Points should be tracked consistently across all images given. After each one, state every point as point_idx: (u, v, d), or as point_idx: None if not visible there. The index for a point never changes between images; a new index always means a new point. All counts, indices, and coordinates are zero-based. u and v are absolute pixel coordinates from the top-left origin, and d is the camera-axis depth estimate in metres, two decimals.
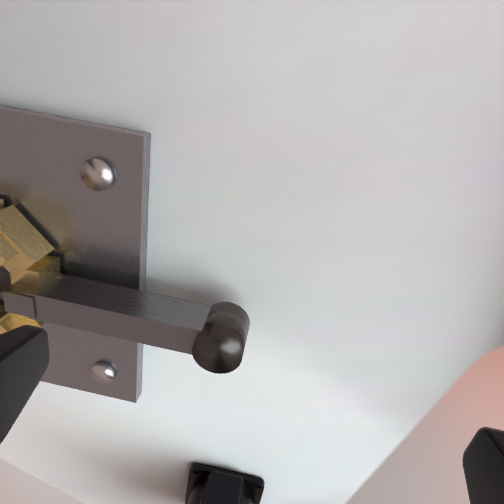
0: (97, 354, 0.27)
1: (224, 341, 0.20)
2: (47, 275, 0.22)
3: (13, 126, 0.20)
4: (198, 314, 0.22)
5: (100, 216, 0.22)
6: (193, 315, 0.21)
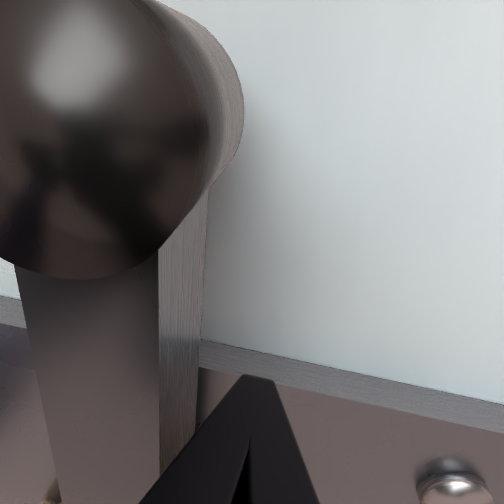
0: (390, 489, 0.10)
1: None
2: None
3: None
4: None
5: (16, 392, 0.11)
6: None
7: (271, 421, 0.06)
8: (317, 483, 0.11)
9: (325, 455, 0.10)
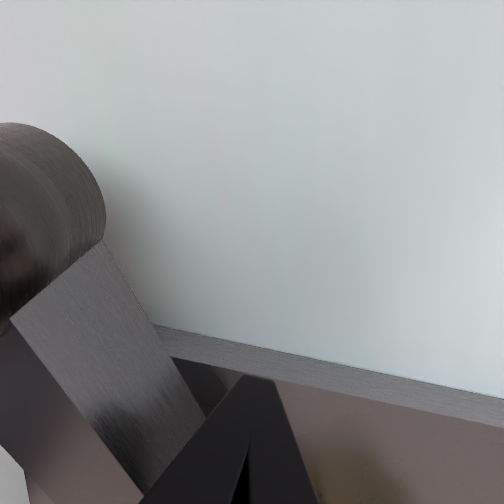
0: None
1: None
2: None
3: None
4: None
5: None
6: None
7: (271, 421, 0.06)
8: None
9: None
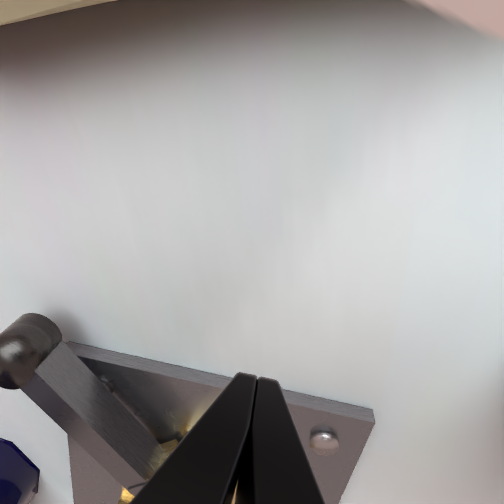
0: None
1: None
2: None
3: None
4: None
5: (136, 396, 0.24)
6: None
7: (276, 422, 0.06)
8: None
9: None
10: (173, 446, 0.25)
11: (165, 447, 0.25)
